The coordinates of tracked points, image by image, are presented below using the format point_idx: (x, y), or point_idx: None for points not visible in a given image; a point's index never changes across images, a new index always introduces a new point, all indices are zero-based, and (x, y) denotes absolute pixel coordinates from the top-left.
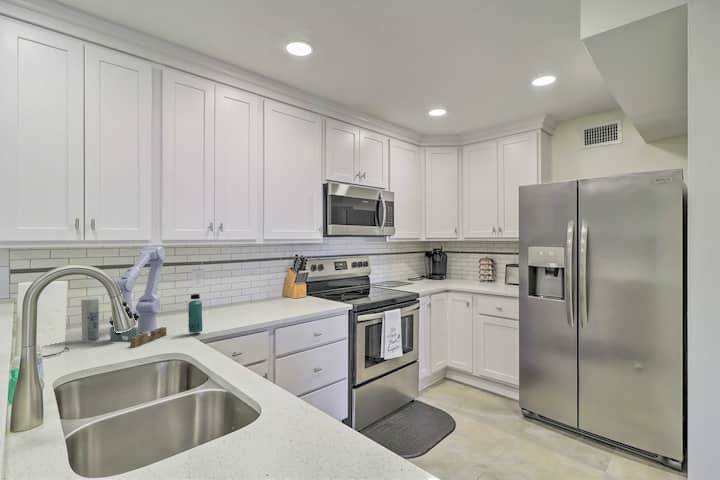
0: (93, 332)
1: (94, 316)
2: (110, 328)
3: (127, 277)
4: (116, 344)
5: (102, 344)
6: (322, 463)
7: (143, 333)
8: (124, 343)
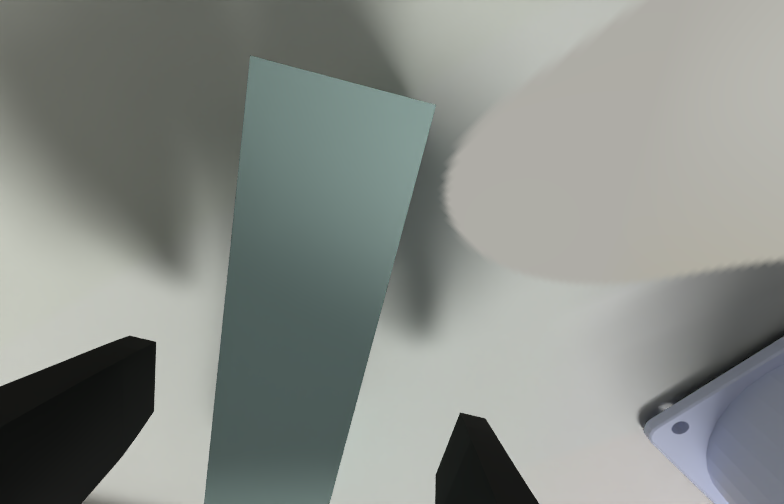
0: None
1: None
2: (259, 84)
3: None
4: (125, 328)
5: (96, 120)
6: None
7: (644, 429)
8: (177, 398)
